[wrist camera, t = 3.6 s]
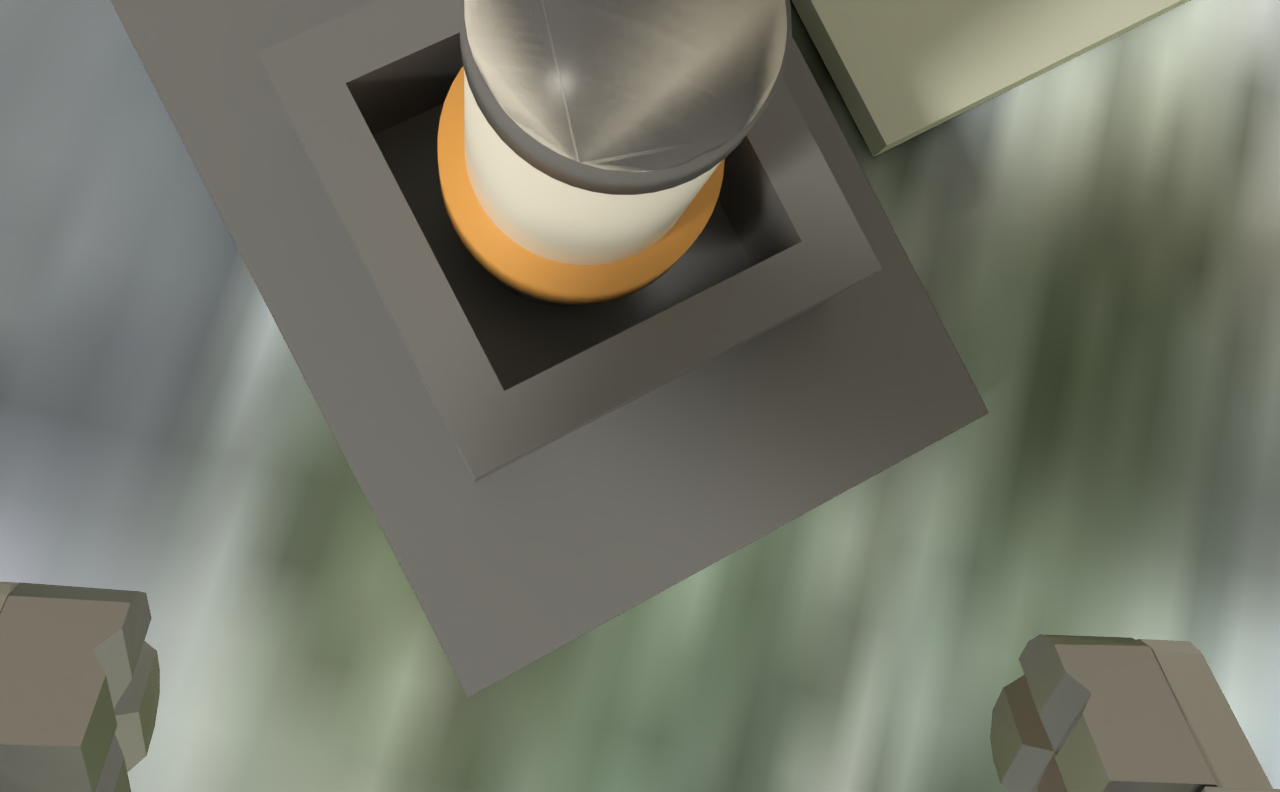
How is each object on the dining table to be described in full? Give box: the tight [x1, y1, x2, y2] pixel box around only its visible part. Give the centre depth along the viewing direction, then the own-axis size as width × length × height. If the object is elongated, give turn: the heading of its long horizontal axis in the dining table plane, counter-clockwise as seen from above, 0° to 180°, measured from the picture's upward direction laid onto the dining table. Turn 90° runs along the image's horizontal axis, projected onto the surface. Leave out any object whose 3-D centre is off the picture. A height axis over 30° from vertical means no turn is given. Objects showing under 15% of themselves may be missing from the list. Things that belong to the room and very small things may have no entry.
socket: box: [111, 0, 989, 697], centre depth 22 cm, size 14×11×4 cm
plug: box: [438, 0, 792, 306], centre depth 18 cm, size 4×4×9 cm
